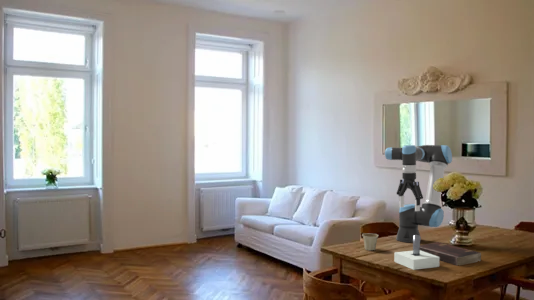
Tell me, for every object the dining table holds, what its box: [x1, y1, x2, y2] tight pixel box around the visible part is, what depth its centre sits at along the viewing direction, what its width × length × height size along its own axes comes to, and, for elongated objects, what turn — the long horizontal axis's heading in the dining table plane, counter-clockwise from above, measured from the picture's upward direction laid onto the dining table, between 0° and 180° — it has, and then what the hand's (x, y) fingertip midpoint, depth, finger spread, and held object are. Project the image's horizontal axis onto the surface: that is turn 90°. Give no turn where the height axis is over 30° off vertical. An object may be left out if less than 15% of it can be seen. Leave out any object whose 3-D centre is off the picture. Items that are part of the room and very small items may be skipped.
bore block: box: [393, 250, 440, 271], centre depth 244 cm, size 16×16×5 cm
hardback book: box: [420, 241, 482, 266], centre depth 259 cm, size 29×19×5 cm, turn 29°
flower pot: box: [361, 232, 379, 251], centre depth 276 cm, size 9×9×9 cm
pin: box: [412, 234, 421, 256], centre depth 244 cm, size 3×3×14 cm
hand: (409, 209), depth 268 cm, fingers open, 13 cm apart
